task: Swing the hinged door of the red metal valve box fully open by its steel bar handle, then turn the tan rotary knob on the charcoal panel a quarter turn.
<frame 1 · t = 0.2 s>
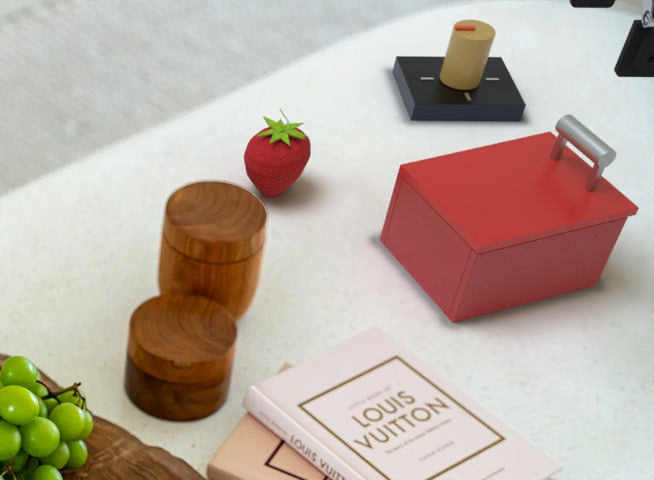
hand: (612, 39, 83), 29 cm above the table, tool pointing down, fingers open, 9 cm apart
valve panel: (452, 103, 129), on the table
strawberry: (269, 200, 117), on the table
hatch: (523, 169, 101), point 11 cm above the table, hinge at 0.0°
tan rotary knob: (467, 53, 125), point 6 cm above the table, hinge at 0.0°
valve box: (482, 269, 110), on the table
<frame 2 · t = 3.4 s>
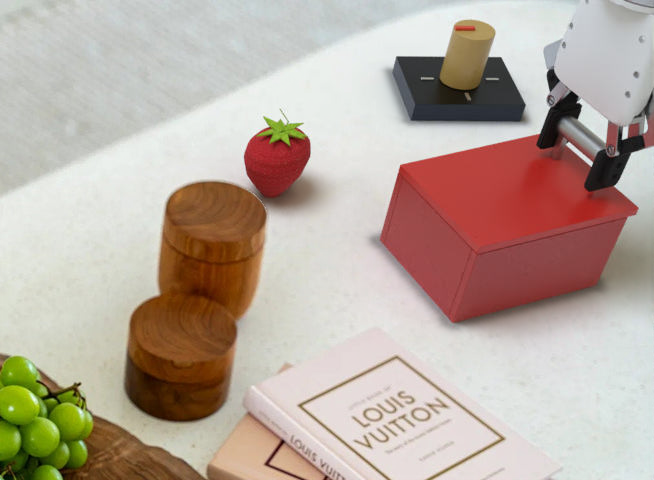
hand: (575, 164, 103), 11 cm above the table, tool pointing down, fingers closed on hatch, 6 cm apart
hatch: (523, 169, 101), point 11 cm above the table, hinge at 0.0°, touching gripper
everything else where it was.
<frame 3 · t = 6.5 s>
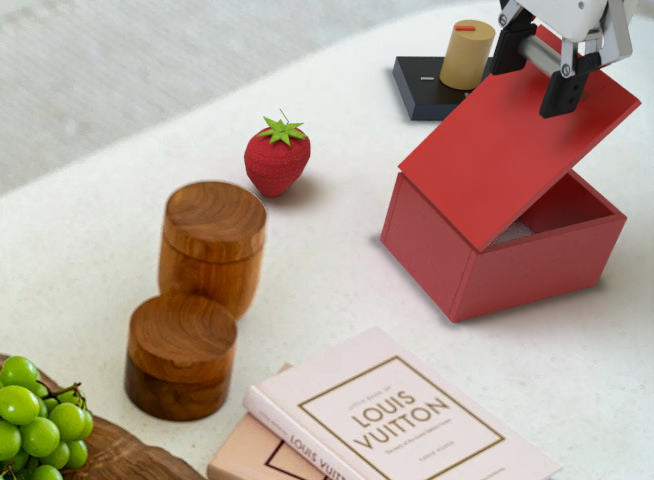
hand: (531, 90, 95), 20 cm above the table, tool pointing down, fingers closed on hatch, 6 cm apart
hatch: (500, 126, 96), point 17 cm above the table, hinge at 47.8°, touching gripper
everything else where it was.
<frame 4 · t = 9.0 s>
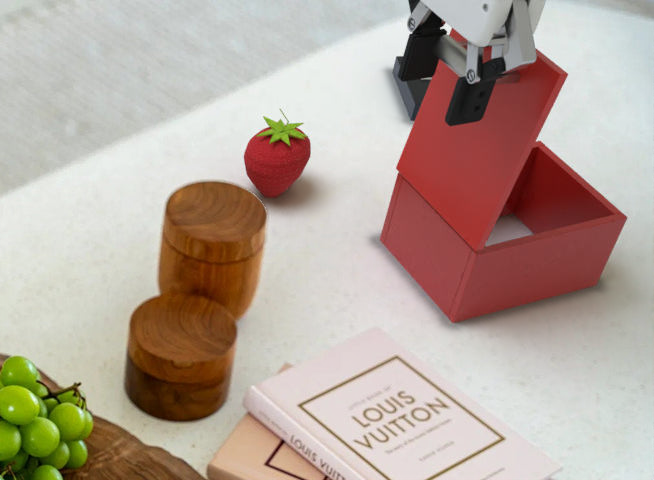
hand: (438, 97, 92), 21 cm above the table, tool pointing down, fingers closed on hatch, 6 cm apart
hatch: (452, 127, 95), point 18 cm above the table, hinge at 82.4°, touching gripper
everything else where it was.
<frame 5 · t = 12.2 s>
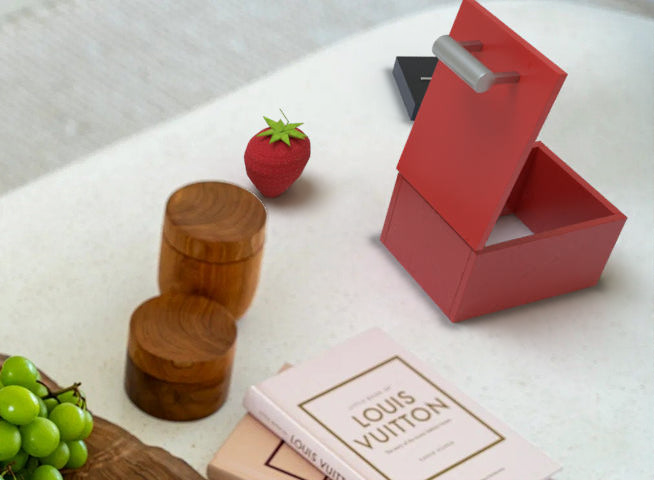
hatch: (452, 127, 95), point 18 cm above the table, hinge at 82.5°
everything else where it was.
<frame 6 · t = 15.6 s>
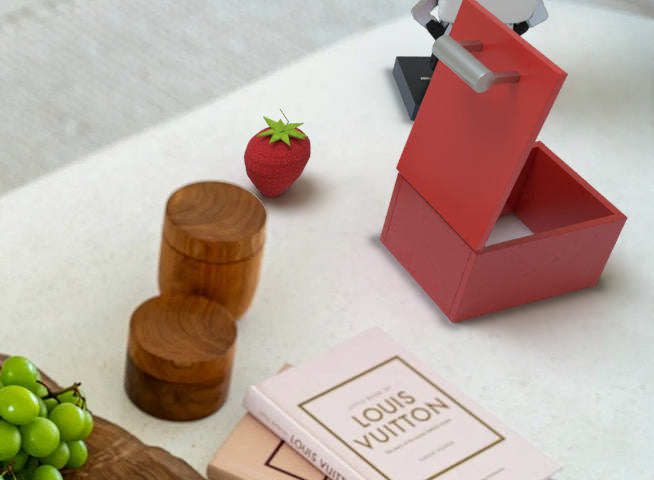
hand: (461, 73, 127), 4 cm above the table, tool pointing down, fingers closed on tan rotary knob, 4 cm apart
tan rotary knob: (467, 53, 125), point 6 cm above the table, hinge at 0.1°, touching gripper
everything else where it was.
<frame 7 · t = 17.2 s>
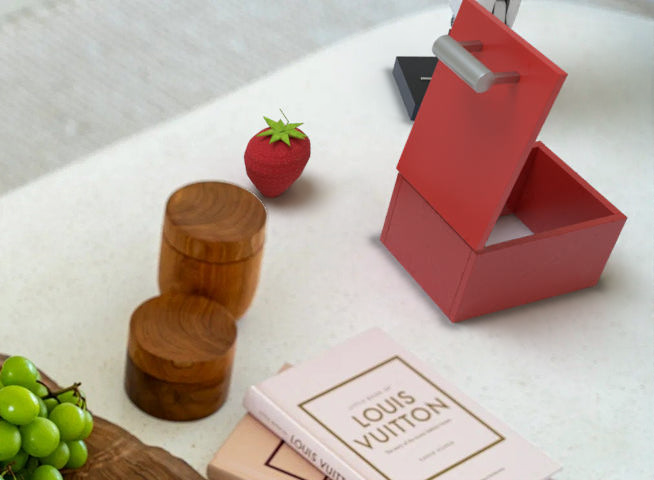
hand: (460, 73, 127), 4 cm above the table, tool pointing down, fingers closed on tan rotary knob, 4 cm apart
tan rotary knob: (467, 53, 125), point 6 cm above the table, hinge at 90.2°, touching gripper
everything else where it was.
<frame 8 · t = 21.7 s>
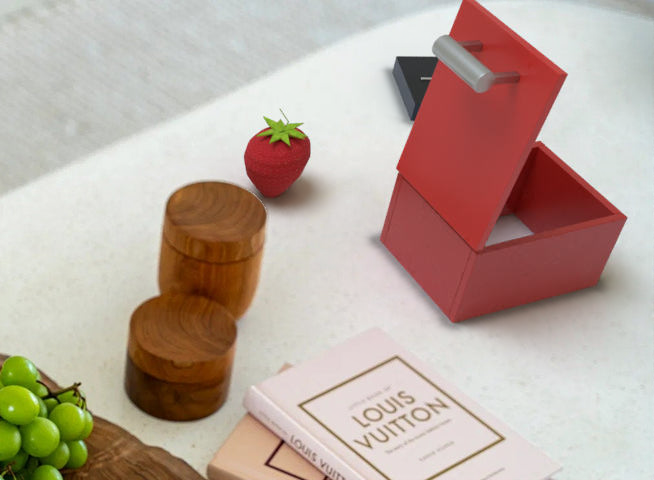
tan rotary knob: (467, 53, 125), point 6 cm above the table, hinge at 89.2°
everything else where it was.
at the end: hatch at +82° (first picture: +0°); tan rotary knob at +89° (first picture: +0°) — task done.
